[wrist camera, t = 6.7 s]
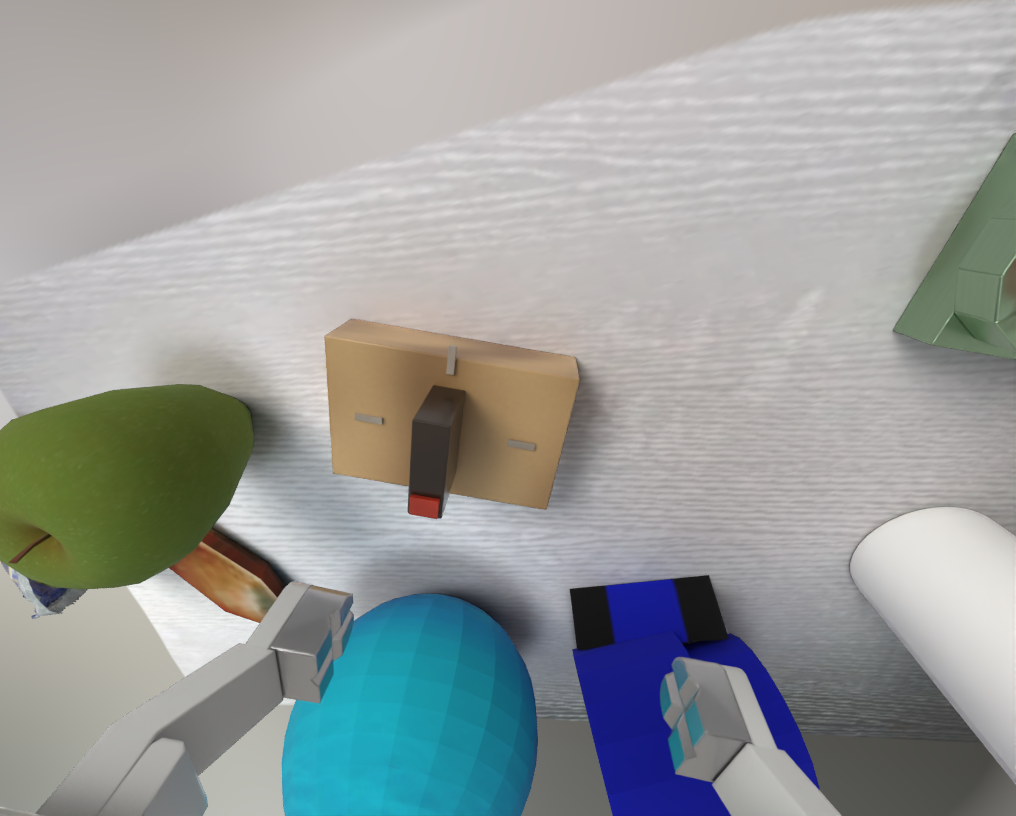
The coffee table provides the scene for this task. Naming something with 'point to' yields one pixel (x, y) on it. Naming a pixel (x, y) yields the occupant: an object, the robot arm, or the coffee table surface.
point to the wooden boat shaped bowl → (231, 577)
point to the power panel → (486, 414)
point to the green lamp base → (974, 275)
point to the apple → (118, 483)
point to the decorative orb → (416, 719)
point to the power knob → (434, 451)
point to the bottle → (952, 611)
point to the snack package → (44, 594)
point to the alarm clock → (637, 682)
